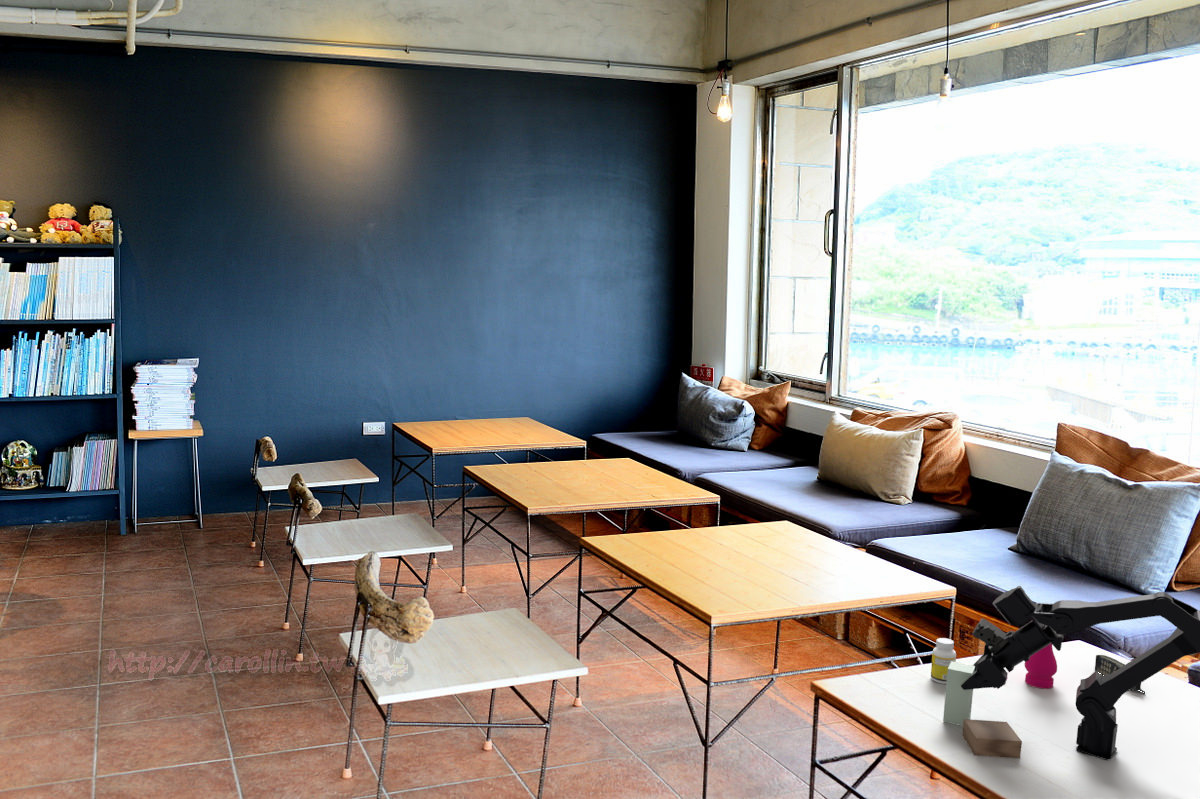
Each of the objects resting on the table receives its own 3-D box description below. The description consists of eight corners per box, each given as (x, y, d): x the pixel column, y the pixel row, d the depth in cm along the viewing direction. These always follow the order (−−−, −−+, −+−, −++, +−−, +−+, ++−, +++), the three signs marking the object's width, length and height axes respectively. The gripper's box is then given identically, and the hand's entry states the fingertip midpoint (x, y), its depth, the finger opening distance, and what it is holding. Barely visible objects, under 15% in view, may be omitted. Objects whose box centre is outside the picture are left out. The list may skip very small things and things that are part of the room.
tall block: (970, 718, 228) (975, 666, 227) (967, 726, 224) (972, 673, 222) (946, 713, 230) (951, 661, 229) (943, 721, 226) (947, 668, 224)
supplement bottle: (935, 673, 253) (938, 635, 252) (957, 680, 250) (961, 640, 249) (926, 680, 249) (930, 640, 248) (948, 686, 246) (952, 646, 244)
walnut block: (1005, 739, 219) (1006, 721, 218) (1019, 760, 210) (1021, 741, 210) (961, 737, 219) (963, 719, 219) (974, 757, 210) (976, 738, 210)
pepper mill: (1027, 675, 255) (1035, 596, 252) (1058, 683, 251) (1066, 603, 248) (1019, 684, 249) (1027, 603, 246) (1051, 692, 245) (1059, 610, 242)
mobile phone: (1093, 653, 259) (1139, 675, 245) (1103, 652, 260) (1150, 674, 245) (1092, 672, 260) (1138, 695, 245) (1102, 671, 260) (1148, 694, 246)
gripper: (1004, 599, 229) (947, 637, 236) (993, 623, 213) (933, 663, 219) (1038, 641, 227) (980, 678, 233) (1031, 668, 210) (968, 707, 217)
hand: (965, 680), depth 225 cm, fingers open, 9 cm apart
